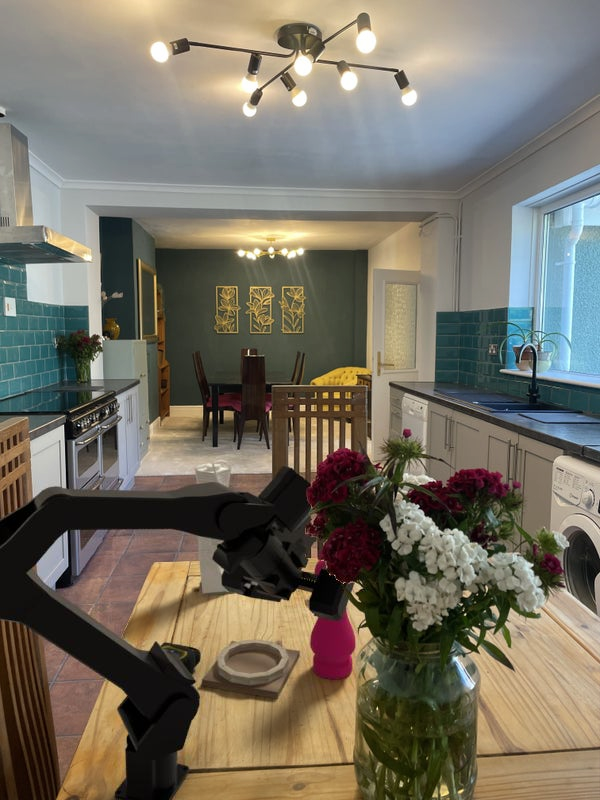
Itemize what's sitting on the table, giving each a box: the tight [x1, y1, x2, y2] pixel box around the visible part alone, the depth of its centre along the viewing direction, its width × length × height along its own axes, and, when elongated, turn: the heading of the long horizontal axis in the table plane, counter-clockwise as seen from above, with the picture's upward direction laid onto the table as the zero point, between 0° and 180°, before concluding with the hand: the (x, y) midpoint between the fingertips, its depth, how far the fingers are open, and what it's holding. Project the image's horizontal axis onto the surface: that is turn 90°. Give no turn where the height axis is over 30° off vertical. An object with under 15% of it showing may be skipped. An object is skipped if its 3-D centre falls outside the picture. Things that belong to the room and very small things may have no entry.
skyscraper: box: [194, 459, 235, 597], centre depth 123 cm, size 8×8×28 cm
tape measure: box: [160, 641, 202, 675], centre depth 93 cm, size 7×7×4 cm
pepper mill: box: [309, 559, 357, 680], centre depth 93 cm, size 7×7×20 cm
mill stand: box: [201, 638, 301, 700], centre depth 94 cm, size 12×12×2 cm
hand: (307, 606), depth 86 cm, fingers open, 9 cm apart
